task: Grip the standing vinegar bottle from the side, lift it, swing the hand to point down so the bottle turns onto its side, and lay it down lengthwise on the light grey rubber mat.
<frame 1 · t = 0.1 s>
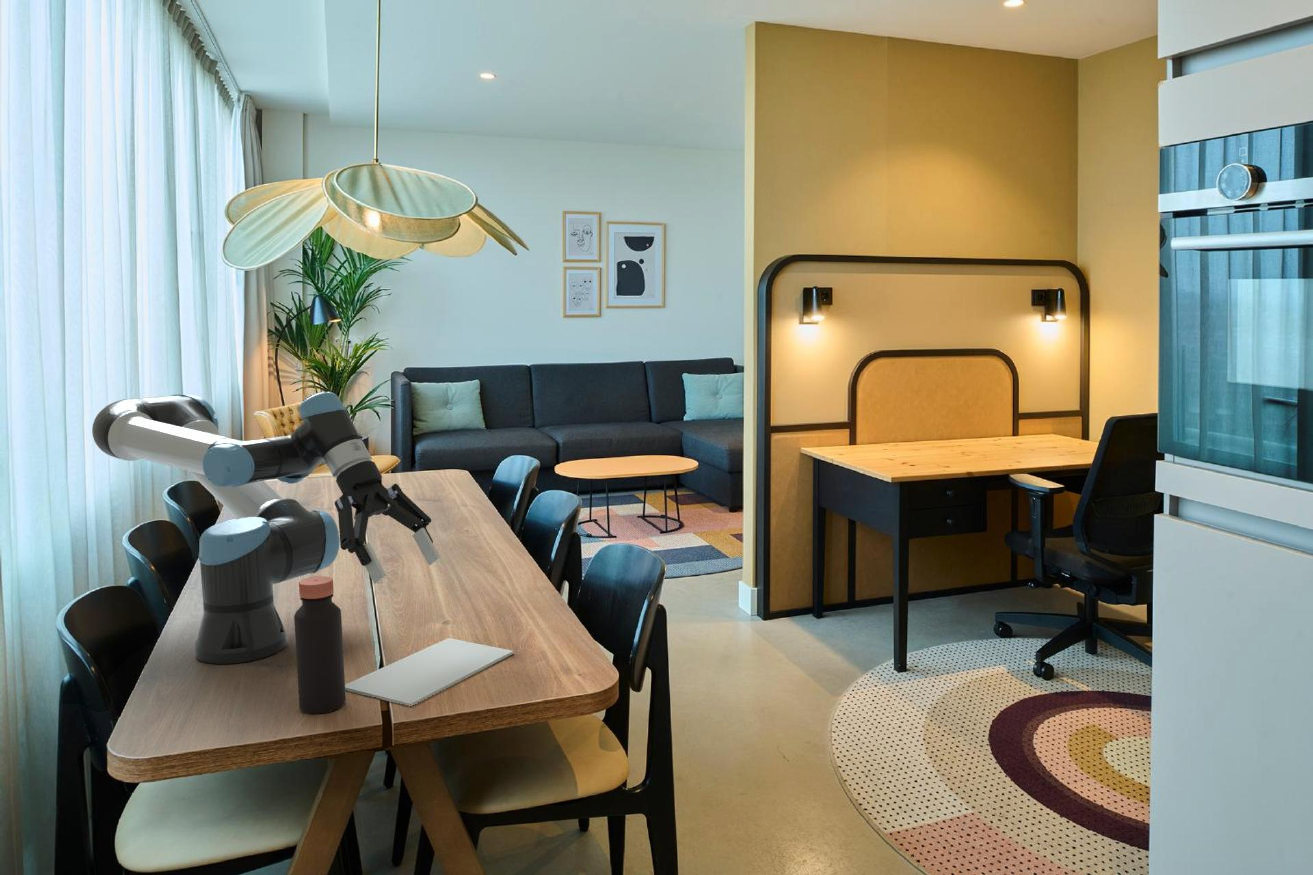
hand: (408, 570, 165), 15 cm above the table, tool tilted 35°, fingers open, 13 cm apart
vinegar: (322, 707, 143), on the table
mat: (431, 670, 158), on the table
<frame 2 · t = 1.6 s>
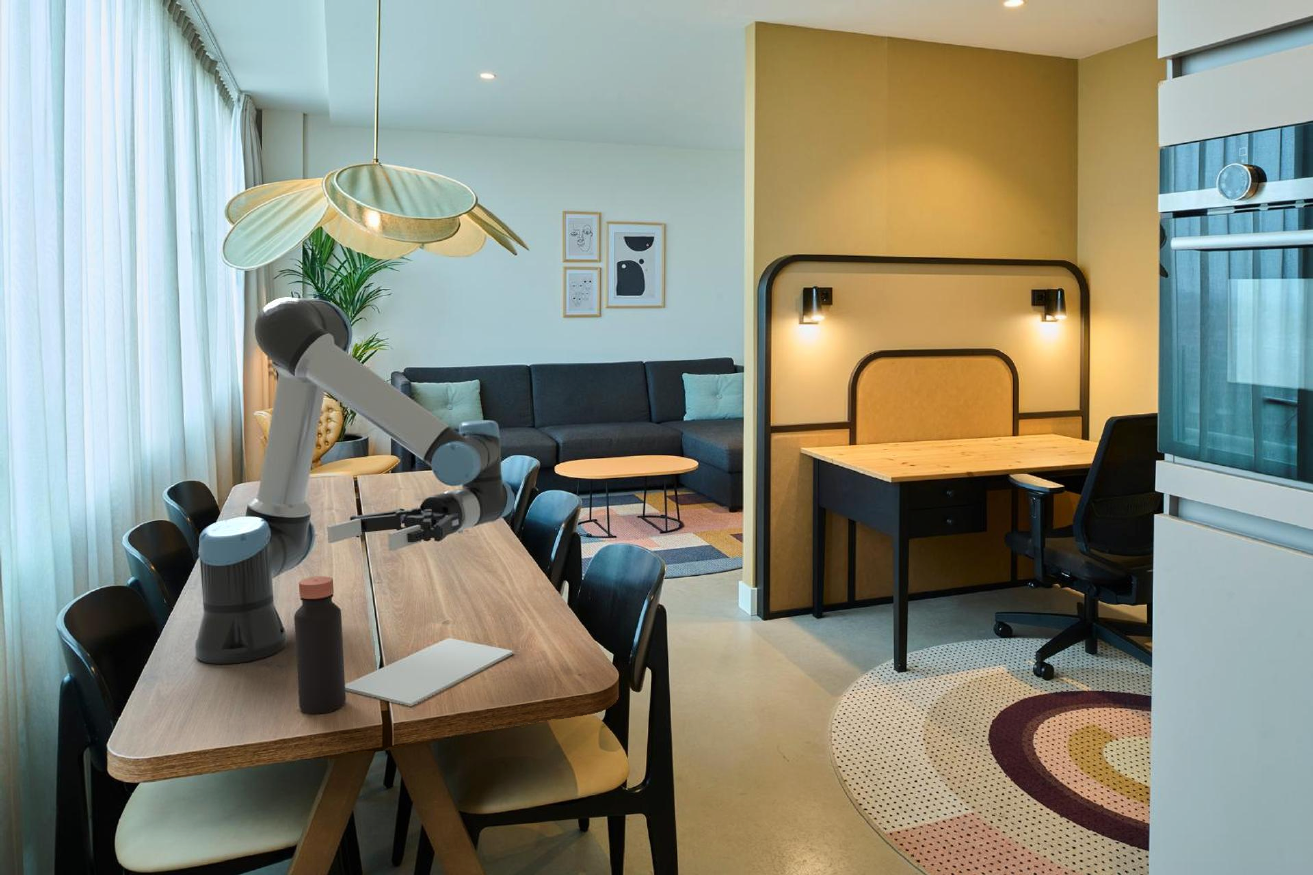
hand: (358, 538, 149), 25 cm above the table, tool horizontal, fingers open, 13 cm apart
nothing on the table moved.
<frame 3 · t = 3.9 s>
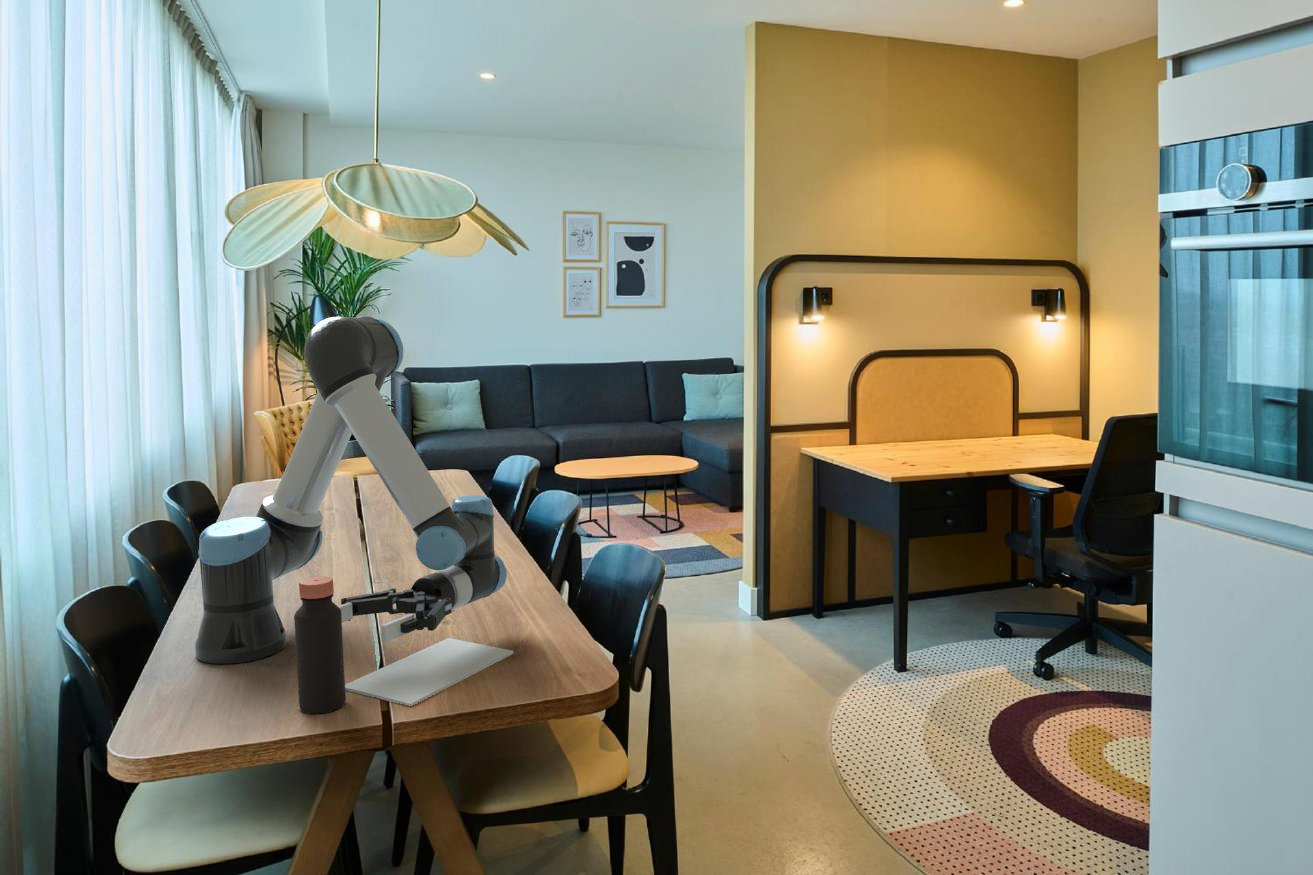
hand: (351, 627, 147), 11 cm above the table, tool horizontal, fingers open, 13 cm apart
nothing on the table moved.
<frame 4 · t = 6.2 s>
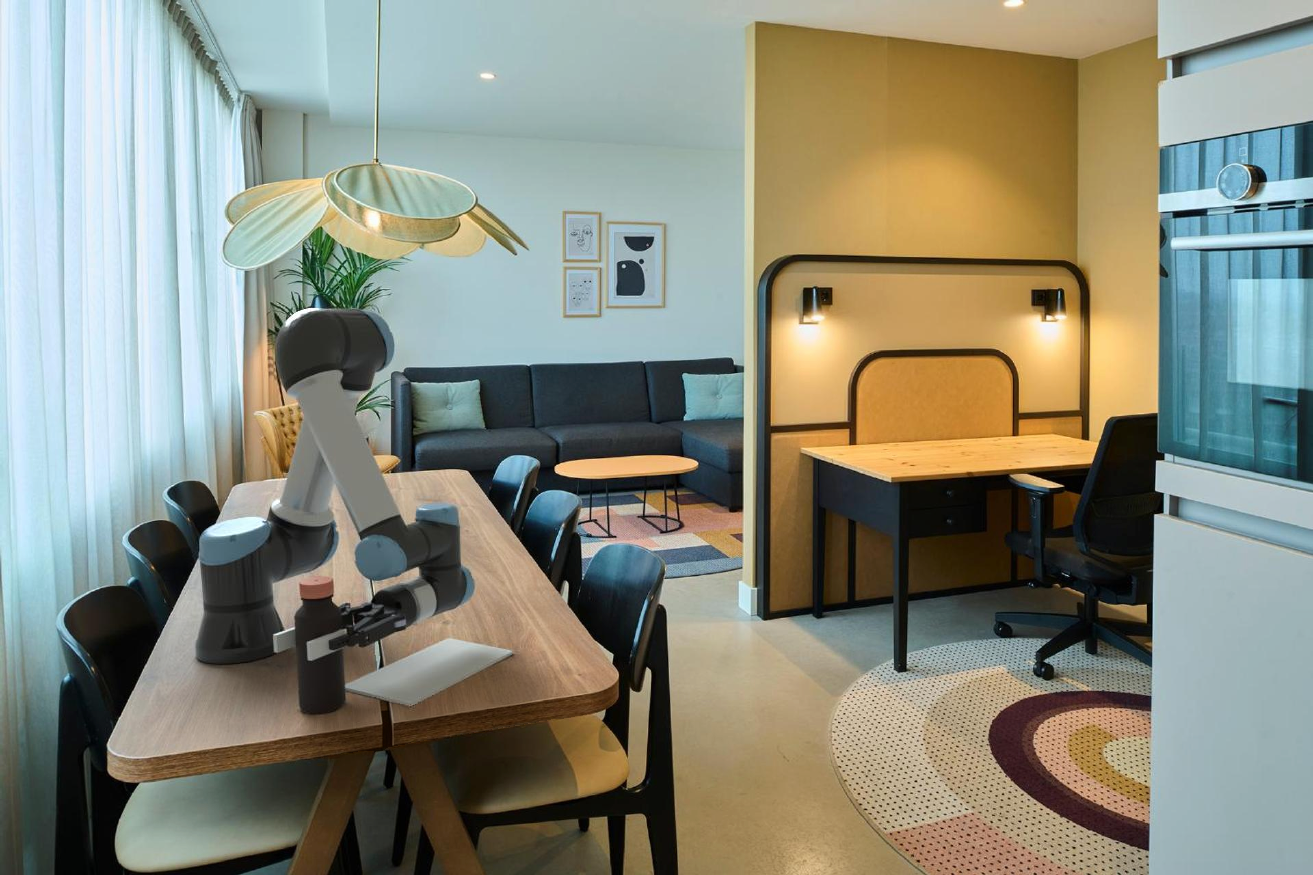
hand: (292, 647, 138), 11 cm above the table, tool horizontal, fingers closed on vinegar, 6 cm apart
vinegar: (322, 706, 143), on the table, touching gripper
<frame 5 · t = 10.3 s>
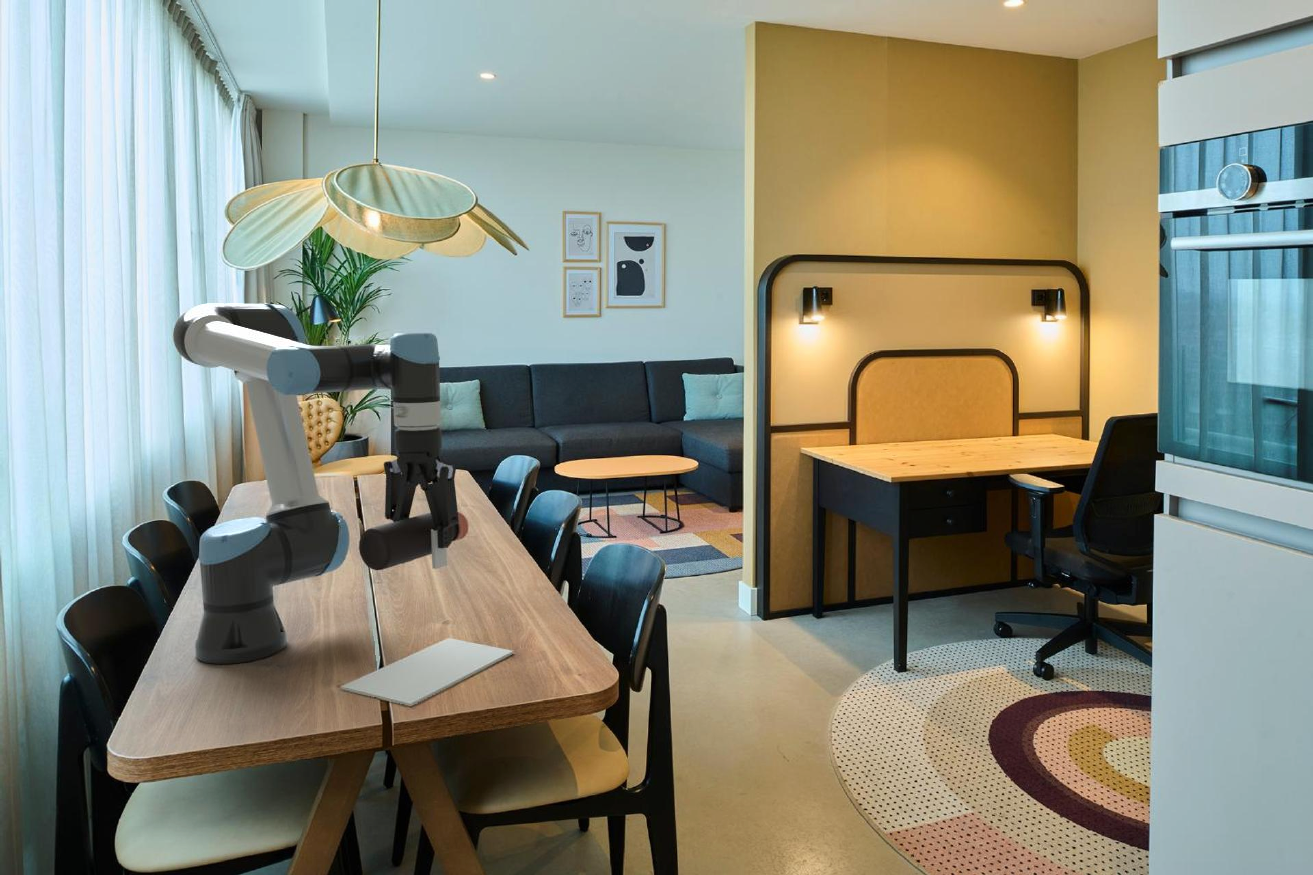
hand: (423, 563, 154), 19 cm above the table, tool pointing down, fingers closed on vinegar, 6 cm apart
vinegar: (372, 550, 144), point 24 cm above the table, touching gripper
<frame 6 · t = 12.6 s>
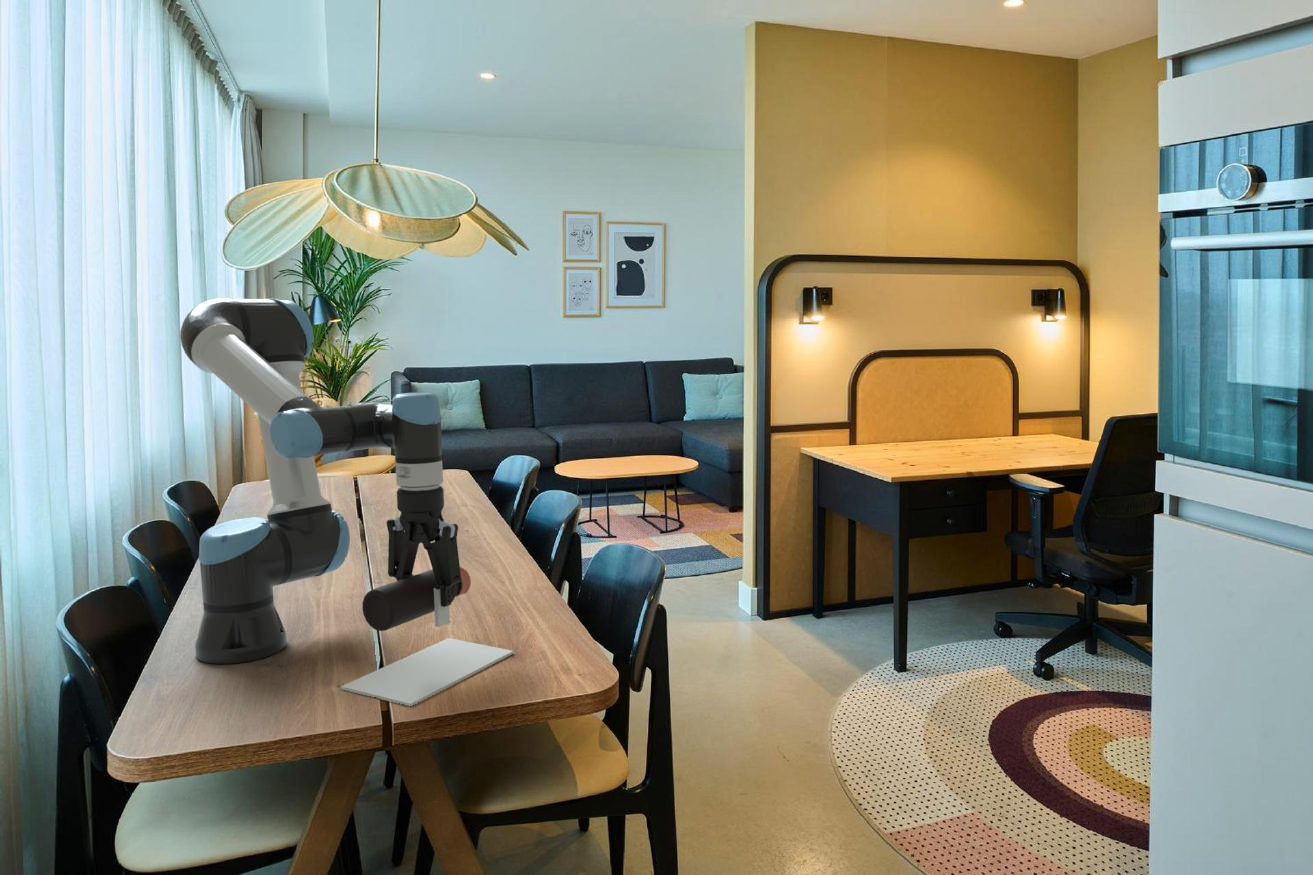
hand: (426, 621, 156), 9 cm above the table, tool pointing down, fingers closed on vinegar, 6 cm apart
vinegar: (375, 611, 145), point 14 cm above the table, touching gripper
when the fingers open (2 cm above the table, at t = 14.4 s): vinegar drops 3 cm, resting on mat.
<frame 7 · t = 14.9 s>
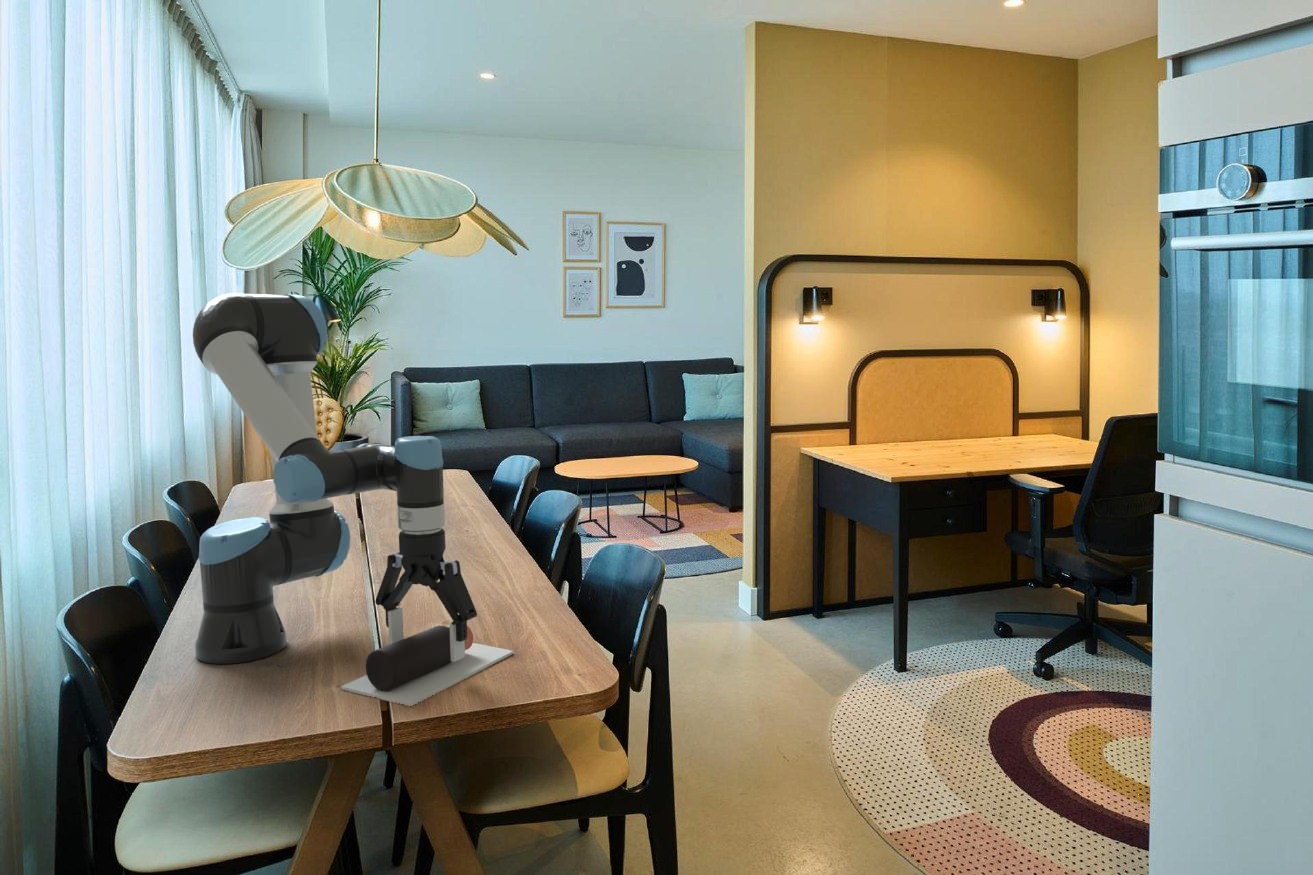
hand: (426, 652, 156), 3 cm above the table, tool pointing down, fingers open, 13 cm apart
vinegar: (378, 671, 147), point 4 cm above the table, touching mat
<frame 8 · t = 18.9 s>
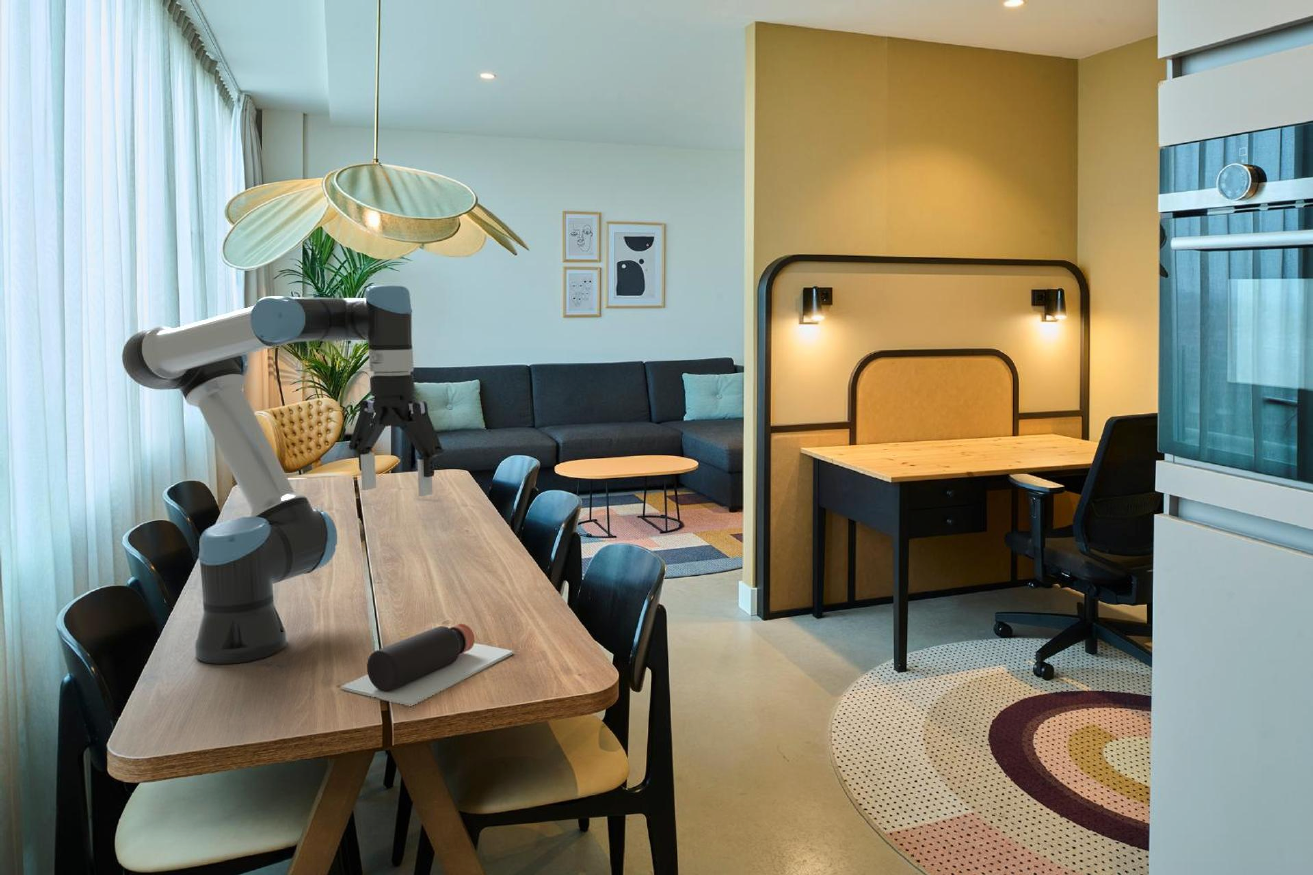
hand: (396, 492, 166), 29 cm above the table, tool pointing down, fingers open, 13 cm apart
nothing on the table moved.
at the end: vinegar tilted 92°; vinegar inside the target area (11.9 cm from its centre), point 3.9 cm above the table; the gripper is holding nothing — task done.
